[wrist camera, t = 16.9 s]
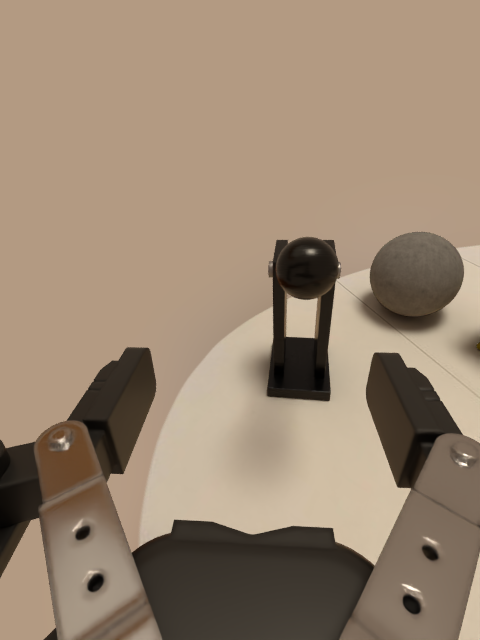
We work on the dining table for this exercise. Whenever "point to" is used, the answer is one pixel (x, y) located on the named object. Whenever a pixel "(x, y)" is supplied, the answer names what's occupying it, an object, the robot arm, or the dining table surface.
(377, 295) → the decorative ball
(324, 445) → the dining table surface
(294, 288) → the lever
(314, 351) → the bracket
